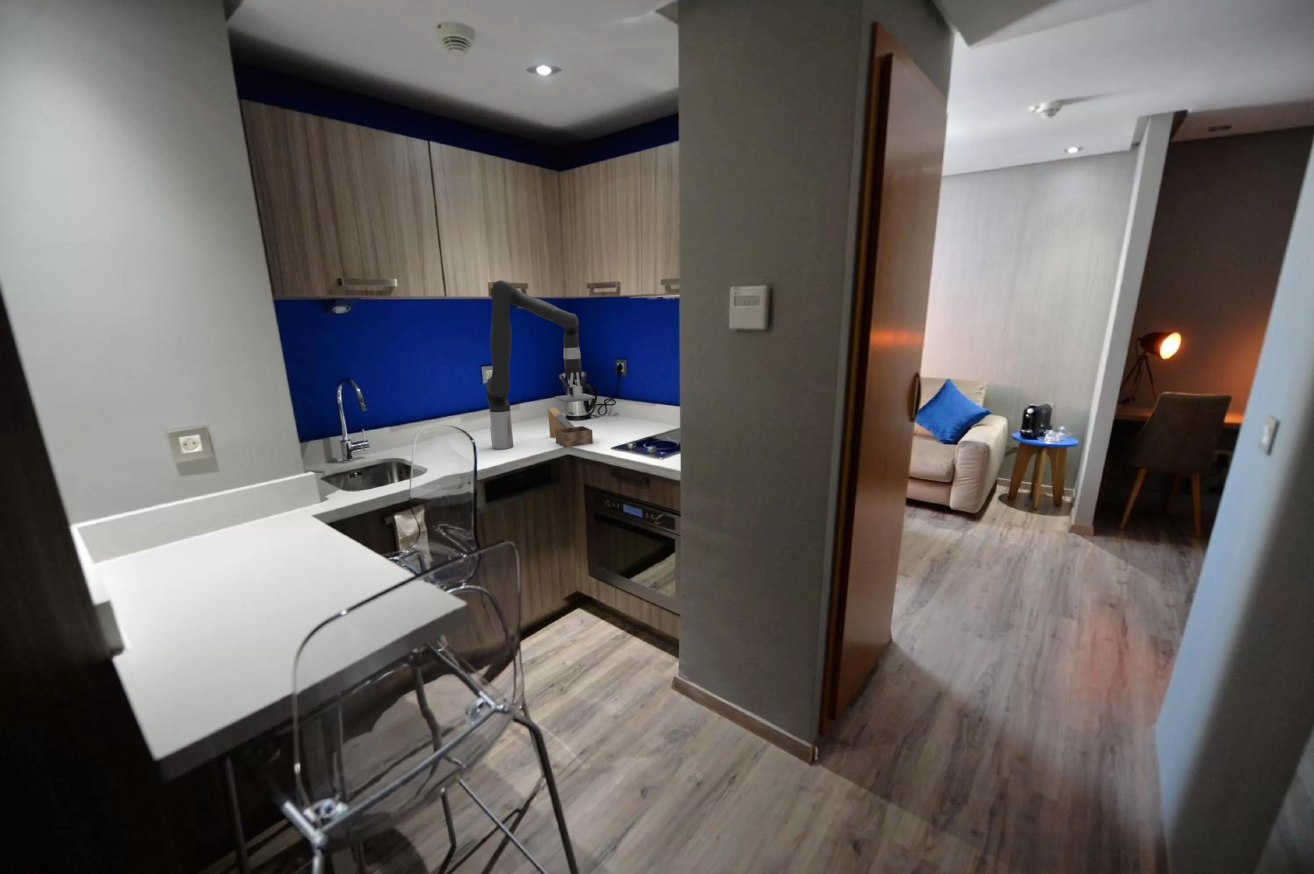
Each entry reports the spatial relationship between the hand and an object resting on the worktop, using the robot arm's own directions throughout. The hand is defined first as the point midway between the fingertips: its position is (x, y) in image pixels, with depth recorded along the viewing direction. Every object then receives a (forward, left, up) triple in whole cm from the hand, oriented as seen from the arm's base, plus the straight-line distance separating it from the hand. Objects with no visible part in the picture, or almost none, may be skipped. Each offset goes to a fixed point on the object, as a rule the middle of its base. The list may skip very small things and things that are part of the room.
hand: (574, 394), depth 244 cm
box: (-2, 0, -23) cm, 23 cm away
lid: (0, 0, -2) cm, 2 cm away
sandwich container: (+1, +17, -24) cm, 29 cm away
